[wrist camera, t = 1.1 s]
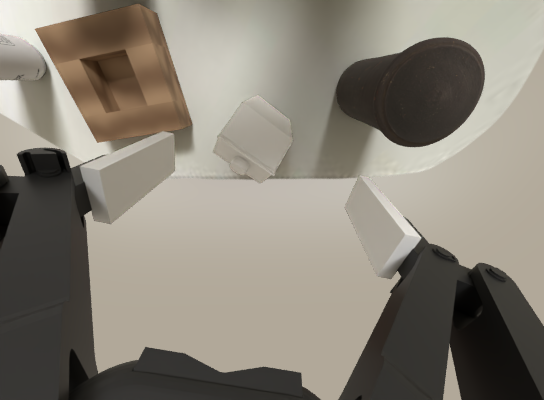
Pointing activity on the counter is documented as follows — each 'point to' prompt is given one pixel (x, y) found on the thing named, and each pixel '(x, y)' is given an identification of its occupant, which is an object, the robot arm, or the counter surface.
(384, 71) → the container
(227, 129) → the milk carton
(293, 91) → the counter surface
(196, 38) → the counter surface
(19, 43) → the energy drink can
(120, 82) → the socket block
